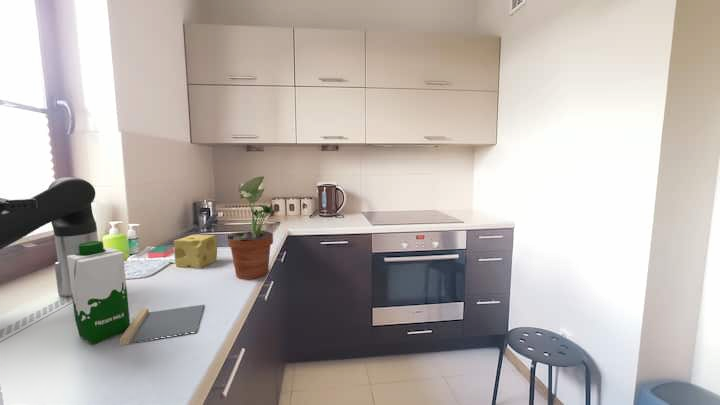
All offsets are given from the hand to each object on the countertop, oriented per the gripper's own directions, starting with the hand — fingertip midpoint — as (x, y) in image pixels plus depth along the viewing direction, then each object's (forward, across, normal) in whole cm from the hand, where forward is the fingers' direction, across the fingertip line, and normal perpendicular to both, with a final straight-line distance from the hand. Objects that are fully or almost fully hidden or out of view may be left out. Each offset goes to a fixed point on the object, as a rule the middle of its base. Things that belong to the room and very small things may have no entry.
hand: (36, 204), depth 63 cm
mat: (+19, +6, -29) cm, 36 cm away
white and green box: (+8, +2, -30) cm, 31 cm away
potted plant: (+48, -14, -29) cm, 58 cm away
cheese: (+36, -38, -30) cm, 60 cm away
